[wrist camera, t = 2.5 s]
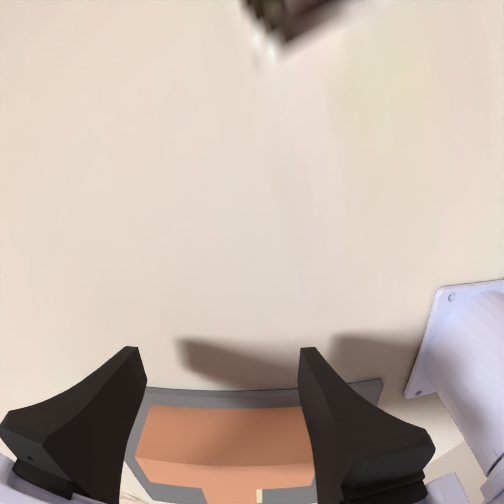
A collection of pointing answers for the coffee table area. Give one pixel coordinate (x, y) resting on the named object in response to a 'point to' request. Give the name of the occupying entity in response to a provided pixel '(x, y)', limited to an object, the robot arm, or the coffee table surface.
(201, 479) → the rust T block
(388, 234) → the coffee table surface
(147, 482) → the charcoal mat
